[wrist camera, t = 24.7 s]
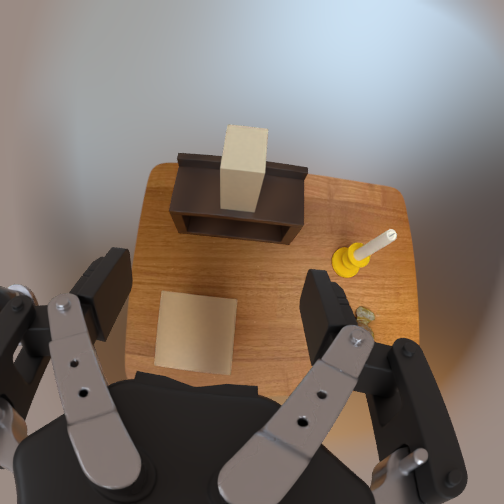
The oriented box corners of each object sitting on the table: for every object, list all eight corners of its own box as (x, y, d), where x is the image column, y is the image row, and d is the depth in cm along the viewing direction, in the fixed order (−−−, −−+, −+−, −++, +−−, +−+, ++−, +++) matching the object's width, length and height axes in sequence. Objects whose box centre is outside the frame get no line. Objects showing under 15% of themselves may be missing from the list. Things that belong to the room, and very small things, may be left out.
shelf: (178, 233, 45) (166, 204, 34) (186, 189, 47) (178, 152, 36) (289, 245, 46) (307, 220, 35) (290, 200, 48) (307, 167, 37)
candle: (341, 283, 45) (391, 261, 30) (325, 256, 46) (369, 223, 31) (364, 268, 46) (417, 242, 31) (348, 242, 47) (395, 207, 32)
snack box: (220, 208, 37) (220, 168, 27) (226, 170, 38) (227, 124, 29) (254, 212, 37) (265, 173, 27) (257, 174, 39) (268, 128, 29)
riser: (176, 354, 40) (154, 365, 26) (181, 302, 42) (161, 290, 28) (228, 360, 40) (230, 375, 27) (233, 308, 42) (237, 299, 29)
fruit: (370, 305, 44) (381, 302, 41) (376, 352, 42) (387, 353, 39) (326, 312, 43) (335, 310, 40) (332, 362, 41) (341, 365, 38)
